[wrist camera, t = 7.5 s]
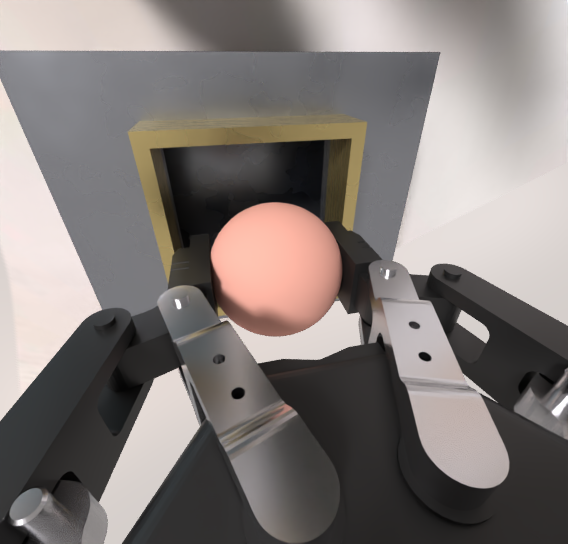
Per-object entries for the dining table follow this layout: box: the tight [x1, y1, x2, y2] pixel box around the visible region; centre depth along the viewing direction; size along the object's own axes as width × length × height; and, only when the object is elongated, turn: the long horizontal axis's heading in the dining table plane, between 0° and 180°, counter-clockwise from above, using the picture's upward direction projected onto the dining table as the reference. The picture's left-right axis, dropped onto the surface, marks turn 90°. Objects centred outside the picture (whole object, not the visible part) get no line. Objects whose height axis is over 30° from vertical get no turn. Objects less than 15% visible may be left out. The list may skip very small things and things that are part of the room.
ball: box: [210, 202, 343, 336], centre depth 12 cm, size 5×5×5 cm
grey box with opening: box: [0, 51, 440, 319], centre depth 19 cm, size 18×14×12 cm
